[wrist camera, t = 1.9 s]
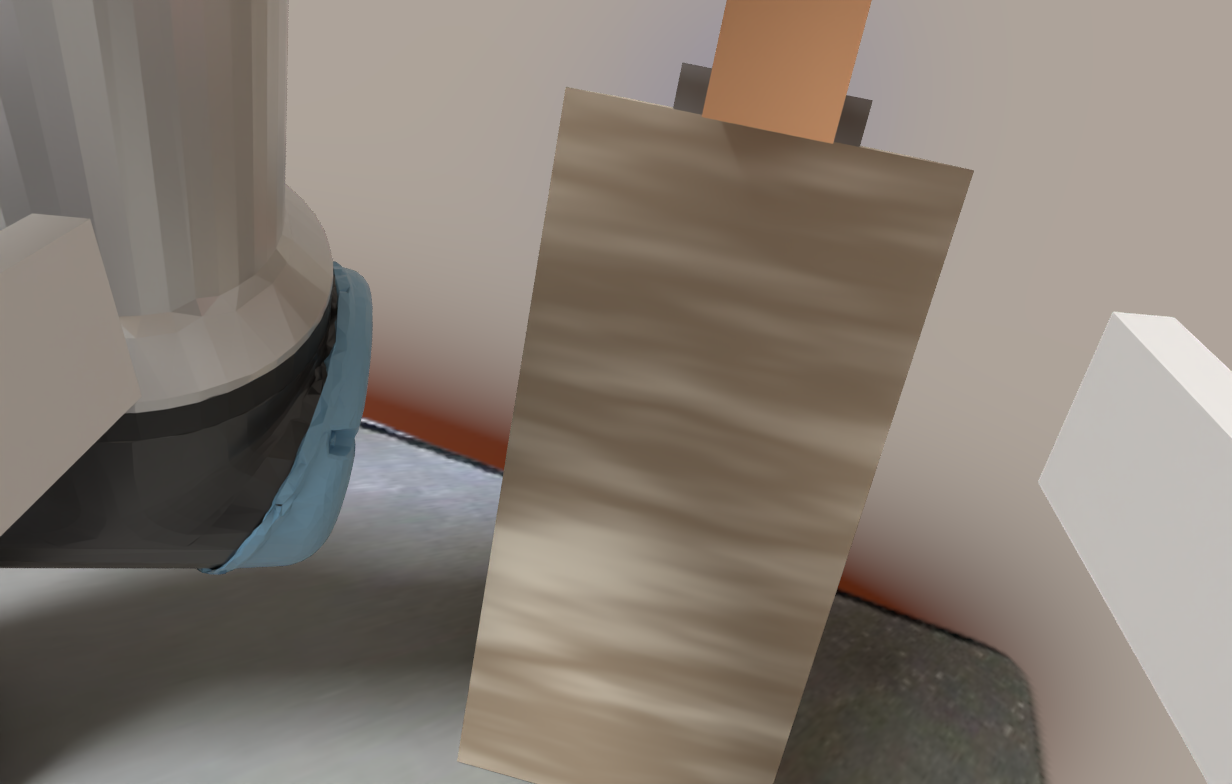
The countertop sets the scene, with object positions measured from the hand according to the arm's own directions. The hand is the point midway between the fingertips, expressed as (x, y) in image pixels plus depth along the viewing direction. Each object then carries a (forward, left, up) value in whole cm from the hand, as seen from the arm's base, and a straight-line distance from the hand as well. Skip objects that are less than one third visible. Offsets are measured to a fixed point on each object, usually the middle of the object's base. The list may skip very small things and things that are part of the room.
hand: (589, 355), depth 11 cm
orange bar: (-4, +22, +3) cm, 23 cm away
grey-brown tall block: (-5, +26, -27) cm, 38 cm away
